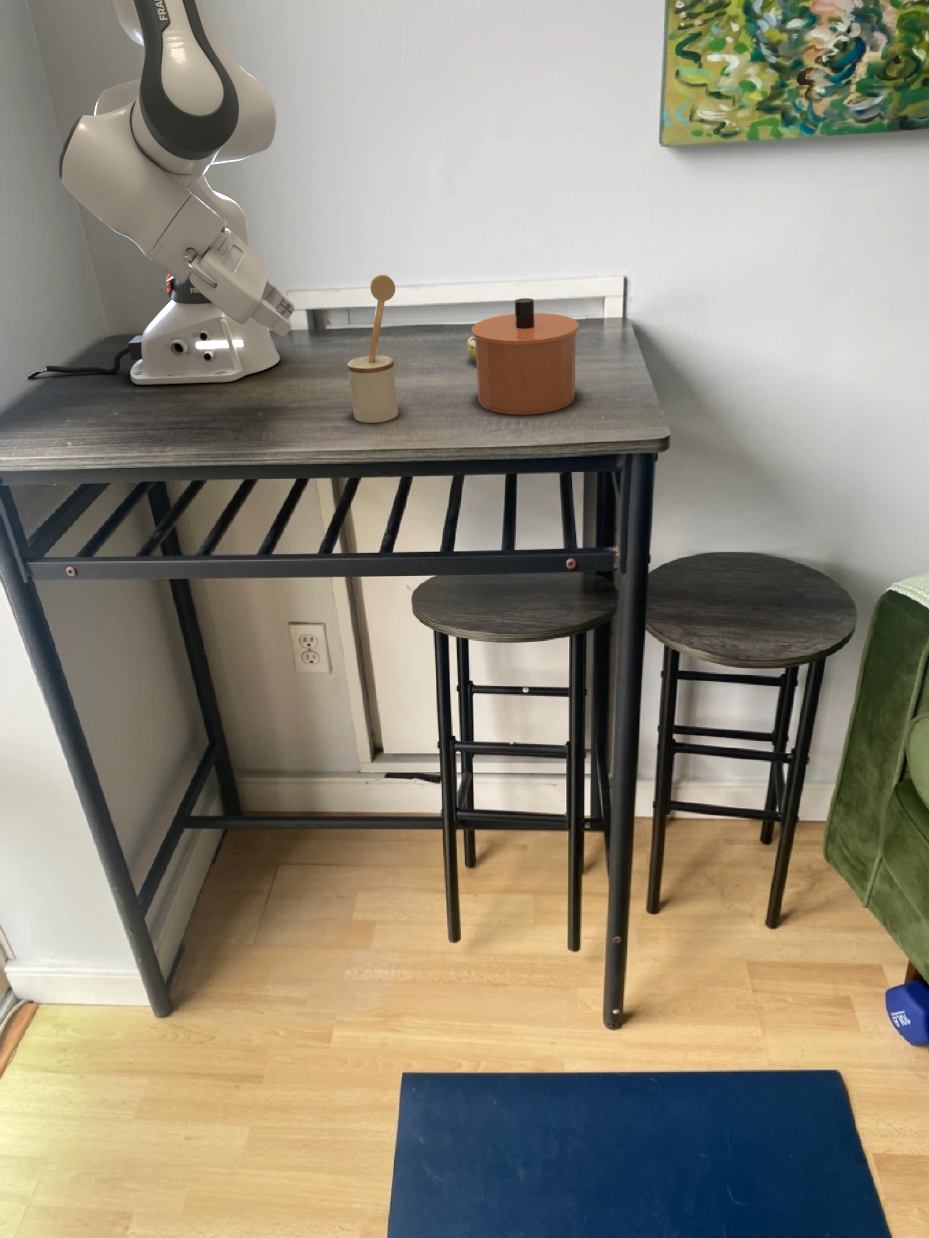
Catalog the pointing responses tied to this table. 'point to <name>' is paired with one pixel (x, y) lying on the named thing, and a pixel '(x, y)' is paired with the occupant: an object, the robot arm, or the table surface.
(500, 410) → the pot
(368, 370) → the crock
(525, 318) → the pot lid
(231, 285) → the robot arm
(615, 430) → the table surface
